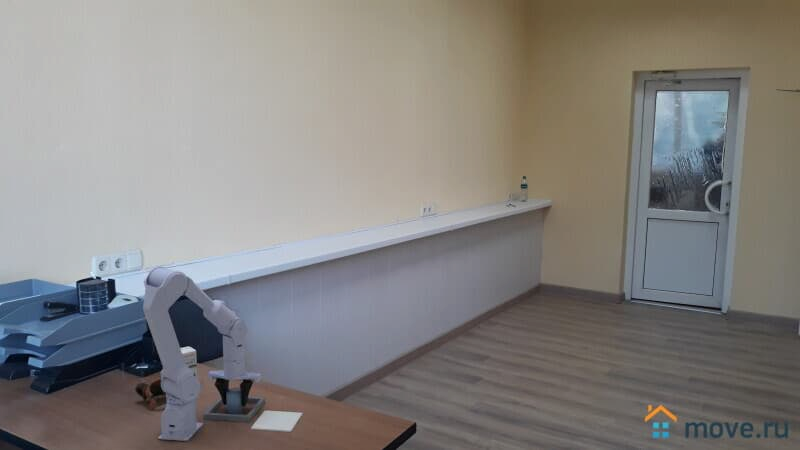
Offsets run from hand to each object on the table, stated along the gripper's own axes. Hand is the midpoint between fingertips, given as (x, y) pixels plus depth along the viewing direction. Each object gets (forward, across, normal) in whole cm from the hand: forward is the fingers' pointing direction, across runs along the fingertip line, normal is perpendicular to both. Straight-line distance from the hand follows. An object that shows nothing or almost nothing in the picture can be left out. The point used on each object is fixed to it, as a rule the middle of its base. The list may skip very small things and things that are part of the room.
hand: (235, 404), depth 179 cm
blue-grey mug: (+2, 0, 0) cm, 2 cm away
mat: (+2, -14, +5) cm, 15 cm away
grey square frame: (+2, 0, 0) cm, 2 cm away
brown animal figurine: (+2, +25, -2) cm, 25 cm away
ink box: (+2, +23, -14) cm, 27 cm away
